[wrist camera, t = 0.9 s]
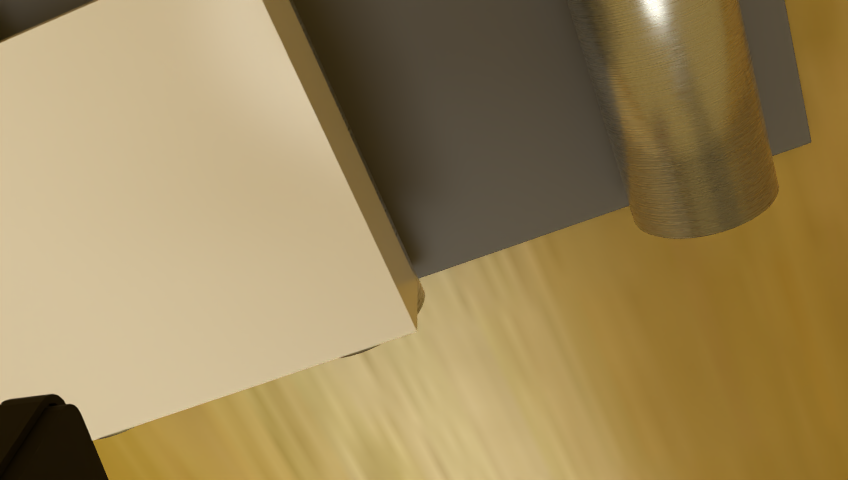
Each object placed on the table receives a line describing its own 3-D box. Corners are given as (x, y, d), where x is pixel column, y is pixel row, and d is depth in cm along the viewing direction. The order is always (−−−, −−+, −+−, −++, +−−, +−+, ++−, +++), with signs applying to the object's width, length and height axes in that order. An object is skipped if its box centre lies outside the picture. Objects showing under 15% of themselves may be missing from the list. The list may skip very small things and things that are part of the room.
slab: (417, 283, 27) (417, 331, 25) (12, 422, 30) (-28, 480, 27) (256, -71, 22) (234, -59, 20) (-212, 132, 25) (-289, 168, 22)
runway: (814, 183, 32) (938, 290, 24) (-178, 518, 39) (-322, 681, 32) (692, -450, 23) (824, -593, 16) (-549, 136, 31) (-869, 232, 23)
